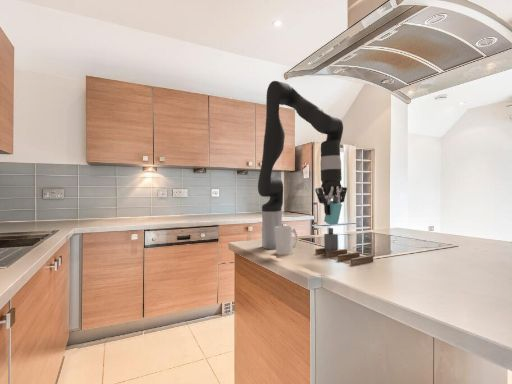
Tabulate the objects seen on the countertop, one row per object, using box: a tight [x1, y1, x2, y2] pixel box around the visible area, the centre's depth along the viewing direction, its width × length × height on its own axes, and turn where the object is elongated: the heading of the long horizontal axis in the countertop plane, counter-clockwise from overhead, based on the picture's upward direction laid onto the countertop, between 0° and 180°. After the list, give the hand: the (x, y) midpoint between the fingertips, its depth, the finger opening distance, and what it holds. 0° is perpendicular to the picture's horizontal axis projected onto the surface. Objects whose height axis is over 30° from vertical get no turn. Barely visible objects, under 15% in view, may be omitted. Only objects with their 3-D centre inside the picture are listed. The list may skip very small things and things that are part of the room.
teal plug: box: [323, 196, 343, 226], centre depth 105 cm, size 4×4×10 cm
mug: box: [275, 225, 298, 256], centre depth 116 cm, size 10×7×12 cm, turn 116°
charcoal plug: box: [323, 227, 339, 254], centre depth 112 cm, size 4×4×10 cm
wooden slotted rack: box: [314, 247, 374, 266], centre depth 107 cm, size 20×10×3 cm, turn 28°
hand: (332, 214), depth 106 cm, fingers closed on teal plug, 3 cm apart
